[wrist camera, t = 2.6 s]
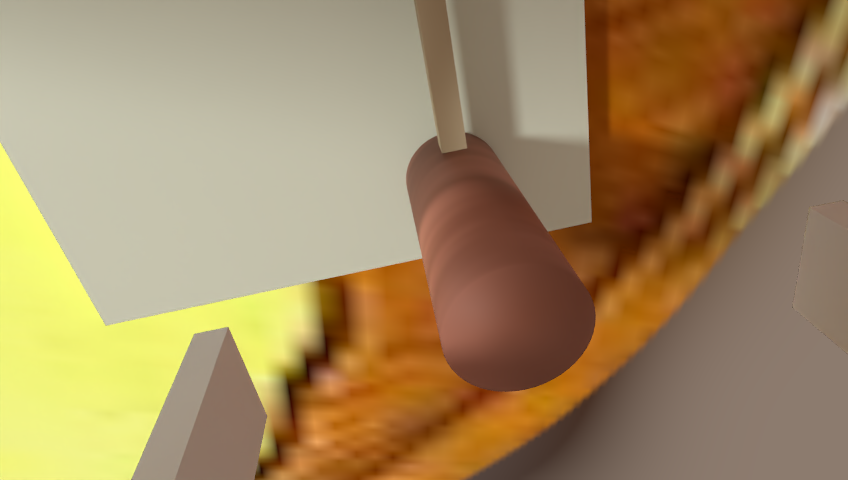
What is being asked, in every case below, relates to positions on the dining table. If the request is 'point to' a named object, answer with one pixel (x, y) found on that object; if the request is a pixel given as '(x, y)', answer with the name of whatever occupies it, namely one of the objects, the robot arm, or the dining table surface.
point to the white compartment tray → (270, 133)
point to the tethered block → (487, 247)
